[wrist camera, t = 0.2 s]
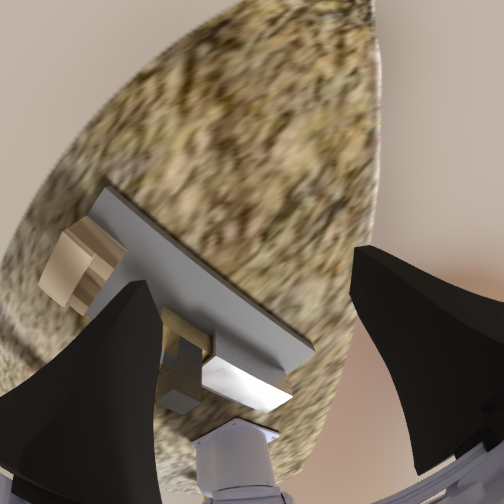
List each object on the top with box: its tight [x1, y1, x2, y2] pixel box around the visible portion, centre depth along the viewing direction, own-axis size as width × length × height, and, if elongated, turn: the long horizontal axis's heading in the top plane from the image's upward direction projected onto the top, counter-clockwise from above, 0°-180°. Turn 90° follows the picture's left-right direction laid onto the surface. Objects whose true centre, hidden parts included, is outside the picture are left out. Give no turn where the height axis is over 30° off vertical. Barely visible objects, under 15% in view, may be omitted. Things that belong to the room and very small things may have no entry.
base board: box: [86, 185, 316, 406], centre depth 21 cm, size 10×22×1 cm, turn 46°
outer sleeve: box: [202, 328, 293, 414], centre depth 21 cm, size 3×8×3 cm, turn 46°
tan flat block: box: [156, 306, 213, 416], centre depth 18 cm, size 2×12×7 cm, turn 46°
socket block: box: [38, 215, 128, 316], centre depth 16 cm, size 5×4×4 cm
